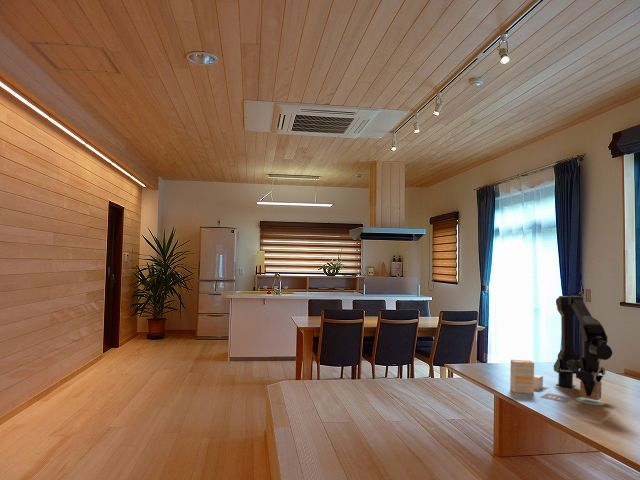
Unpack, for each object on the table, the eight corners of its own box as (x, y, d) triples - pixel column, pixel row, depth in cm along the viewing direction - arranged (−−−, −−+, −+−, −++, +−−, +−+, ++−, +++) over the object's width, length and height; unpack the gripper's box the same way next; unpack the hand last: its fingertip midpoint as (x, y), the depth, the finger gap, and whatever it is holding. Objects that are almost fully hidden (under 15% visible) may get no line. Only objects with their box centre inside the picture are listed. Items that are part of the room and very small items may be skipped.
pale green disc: (580, 396, 198) (580, 395, 198) (608, 402, 191) (608, 401, 191) (572, 401, 190) (572, 400, 190) (601, 407, 183) (601, 406, 183)
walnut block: (584, 394, 195) (584, 379, 195) (601, 397, 191) (601, 382, 191) (580, 396, 190) (580, 381, 191) (597, 400, 186) (597, 384, 187)
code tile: (547, 394, 200) (547, 392, 200) (574, 399, 193) (574, 398, 193) (539, 398, 193) (539, 397, 193) (566, 404, 186) (566, 403, 186)
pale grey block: (530, 385, 212) (530, 373, 212) (542, 387, 208) (542, 376, 209) (526, 387, 208) (526, 375, 208) (538, 389, 205) (538, 377, 205)
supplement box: (530, 392, 202) (530, 360, 203) (533, 395, 197) (534, 362, 198) (509, 390, 203) (510, 359, 204) (512, 393, 198) (513, 361, 199)
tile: (527, 384, 215) (527, 383, 215) (549, 388, 209) (549, 388, 209) (519, 387, 208) (519, 387, 208) (541, 392, 202) (541, 391, 202)
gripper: (576, 348, 204) (575, 386, 203) (561, 354, 190) (561, 394, 189) (606, 353, 196) (605, 392, 195) (593, 358, 182) (592, 401, 182)
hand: (590, 394), depth 191 cm, fingers closed on walnut block, 6 cm apart
